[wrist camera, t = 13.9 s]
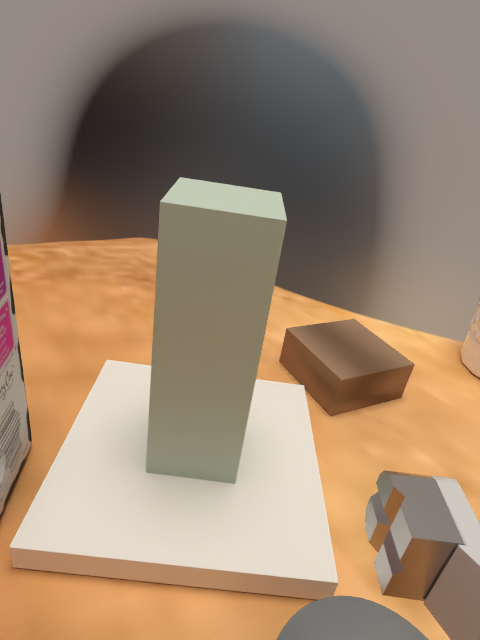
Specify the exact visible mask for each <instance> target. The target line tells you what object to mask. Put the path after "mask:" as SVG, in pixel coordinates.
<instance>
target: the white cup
mask: <svg viewBox="0 0 480 640" xmlns="http://www.w3.org/2000/svg"><path fill="white" fill-rule="evenodd" d="M470 327H471V328H470V330H469V332H468V334H467V337H466V339H465V342H464V344H463V347H462V349H461V360H462V362H463V364H464V365H465V366H466V367H467V368H468V369H469V370H470V371H471V372H472V373H473V374H474V375H476V376H477V377H479V378H480V299H479V302H478V306H477V309H476V311H475V313H474V315H473V318H472V322H471V326H470Z"/></svg>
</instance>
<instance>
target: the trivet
mask: <svg viewBox="0 0 480 640" xmlns="http://www.w3.org/2000/svg"><path fill="white" fill-rule="evenodd" d="M150 382H151V365H143V364H135V363H128V362H120V361H112V360H107V361H106V363H105V364H104V366H103V368H102V370H101V372H100V374H99V376H98V378H97V380H96V382H95V384H94V386H93V387H92V389H91V391H90V393H89V395H88V397H87V399H86V401H85V403H84V405H83V407H82V409H81V410H80V412H79V414H78V416H77V418H76V420H75V422H74V424H73V426H72V428H71V430H70V432H69V433H68V435H67V437H66V439H65V441H64V443H63V445H62V447H61V449H60V451H59V453H58V455H57V456H56V458H55V460H54V462H53V464H52V466H51V468H50V470H49V472H48V474H47V476H46V478H45V479H44V481H43V483H42V485H41V487H40V489H39V491H38V493H37V495H36V497H35V499H34V501H33V502H32V504H31V506H30V508H29V510H28V512H27V514H26V516H25V518H24V520H23V522H22V524H21V525H20V527H19V529H18V531H17V533H16V535H15V537H14V539H13V541H12V543H11V545H10V547H9V549H10V555H11V560H12V566H13V567H14V568H23V569H33V570H42V571H52V572H61V573H70V574H80V575H89V576H99V577H108V578H117V579H127V580H136V581H146V582H155V583H164V584H174V585H183V586H193V587H202V588H211V589H221V590H230V591H240V592H249V593H258V594H268V595H277V596H287V597H296V598H305V599H315V600H319V599H323V598H326V597H333V594H334V592H335V590H336V587H337V585H338V578H337V572H336V566H335V560H334V555H333V549H332V543H331V537H330V532H329V526H328V520H327V514H326V509H325V503H324V497H323V491H322V486H321V480H320V474H319V468H318V463H317V457H316V451H315V445H314V440H313V434H312V428H311V422H310V417H309V411H308V405H307V399H306V394H305V388H304V385H297V384H289V383H282V382H274V381H266V380H259V379H256V381H255V386H254V391H253V396H252V401H251V406H250V411H249V416H248V421H247V426H246V432H245V437H244V442H243V447H242V452H241V457H240V462H239V467H238V472H237V477H236V483H235V484H232V483H224V482H216V481H208V480H201V479H193V478H185V477H177V476H169V475H162V474H154V473H146V456H147V438H148V419H149V400H150Z"/></svg>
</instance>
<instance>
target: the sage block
mask: <svg viewBox="0 0 480 640" xmlns="http://www.w3.org/2000/svg"><path fill="white" fill-rule="evenodd" d="M286 222H287V219H286V214H285V210H284V205H283V200H282V195H281V193H278V192H272V191H266V190H259V189H253V188H246V187H240V186H233V185H227V184H220V183H214V182H207V181H201V180H194V179H187V178H179V180H178V181H177V182H176V183H175V184H174V186H173V187H172V188H171V189H170V190H169V192H168V193H167V194H166V195H165V197H164V198H163V199H162V200H161V201H160V215H159V233H158V252H157V271H156V289H155V308H154V326H153V345H152V363H151V382H150V400H149V419H148V438H147V456H146V473H154V474H162V475H169V476H177V477H185V478H193V479H201V480H208V481H216V482H224V483H232V484H235V483H236V477H237V472H238V467H239V462H240V457H241V452H242V447H243V442H244V437H245V432H246V426H247V421H248V416H249V411H250V406H251V401H252V396H253V391H254V386H255V381H256V376H257V370H258V365H259V360H260V355H261V350H262V345H263V340H264V335H265V330H266V325H267V319H268V314H269V309H270V304H271V299H272V294H273V289H274V284H275V279H276V273H277V268H278V263H279V258H280V253H281V247H282V243H283V238H284V233H285V228H286Z"/></svg>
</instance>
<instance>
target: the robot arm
mask: <svg viewBox="0 0 480 640" xmlns="http://www.w3.org/2000/svg"><path fill="white" fill-rule="evenodd" d="M1 437H2V435H1V430H0V438H1ZM5 463H6V459H5V452H4V451H3V450H2V449H1V448H0V484H1V481H2V478H3V475H4V472H5ZM376 483H377V487H378V490H379V492H377V493H376V494H374V495H373V496H371V497H370V499H369V502H368V505H367V508H366V518H365V522H366V532H367V536H368V540H369V543H370V544H371V545H372V546H373V547H374V549H375V550H376V551H377V552H378V555H377V557H376V560H375V562H374V564H375V568H376V572H377V576H378V580H379V584H380V588H381V592H382V595H385V596H392V597H399V598H406V599H413V600H420V601H424V605H425V606H426V607H427V609H428V610H429V611H430V613H431V614H432V615H433V617H434V618H435V619H436V621H437V622H438V623H439V625H440V626H441V627H442V629H443V630H444V631H445V633H446V634H447V635H448V637H449V638H450V639H451V640H480V523H479V521H478V520H477V518H476V516H475V514H474V512H473V510H472V508H471V506H470V504H469V502H468V500H467V498H466V496H465V495H464V493H463V491H462V489H461V487H460V485H459V483H458V482H457V481H456V480H455V479H454V478H445V477H436V476H427V475H419V474H410V473H401V472H393V471H383V472H382V473H381V474H380V475H379V478H378V480H377V482H376Z"/></svg>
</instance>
